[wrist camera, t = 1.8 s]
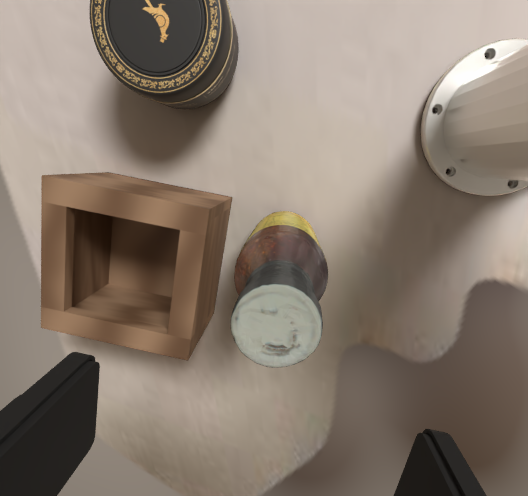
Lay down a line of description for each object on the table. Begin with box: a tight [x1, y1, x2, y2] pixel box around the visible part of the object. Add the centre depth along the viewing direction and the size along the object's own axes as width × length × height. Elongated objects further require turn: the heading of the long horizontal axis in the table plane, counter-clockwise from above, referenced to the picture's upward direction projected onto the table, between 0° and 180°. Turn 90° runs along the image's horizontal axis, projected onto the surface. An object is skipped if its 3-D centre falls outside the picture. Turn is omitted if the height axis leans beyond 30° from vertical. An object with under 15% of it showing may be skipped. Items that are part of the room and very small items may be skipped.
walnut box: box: [41, 172, 232, 360], centre depth 30 cm, size 13×13×9 cm
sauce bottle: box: [231, 211, 328, 368], centre depth 24 cm, size 7×6×20 cm
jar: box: [90, 0, 238, 109], centre depth 26 cm, size 10×10×8 cm
